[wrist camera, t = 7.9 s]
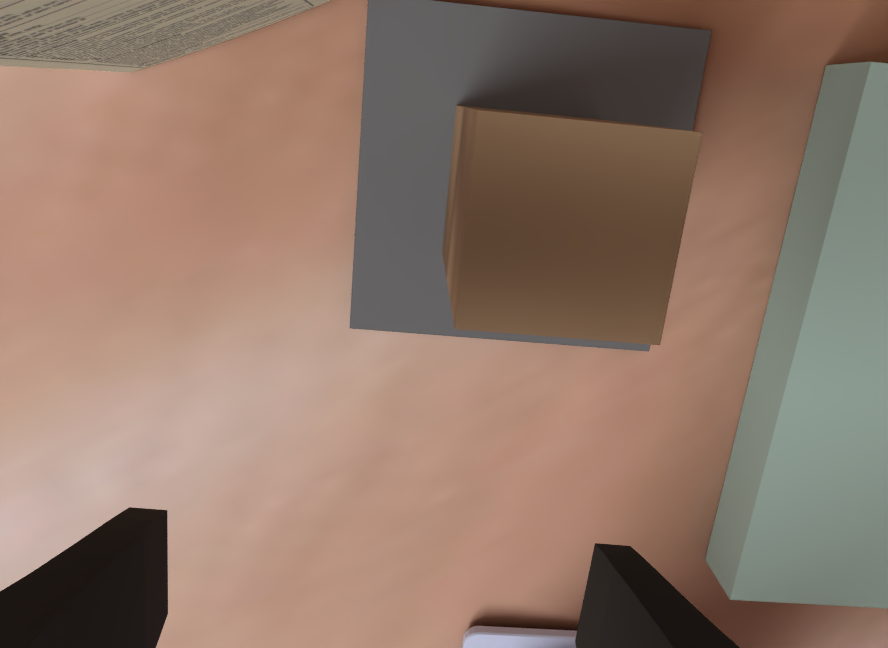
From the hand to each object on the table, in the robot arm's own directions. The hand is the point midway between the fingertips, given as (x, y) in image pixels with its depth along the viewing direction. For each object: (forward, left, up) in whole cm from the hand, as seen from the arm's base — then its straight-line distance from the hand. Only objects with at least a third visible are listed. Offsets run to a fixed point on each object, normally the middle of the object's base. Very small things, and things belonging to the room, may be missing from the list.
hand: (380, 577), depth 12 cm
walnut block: (+6, -3, -10) cm, 12 cm away
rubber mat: (+6, -3, -10) cm, 12 cm away
